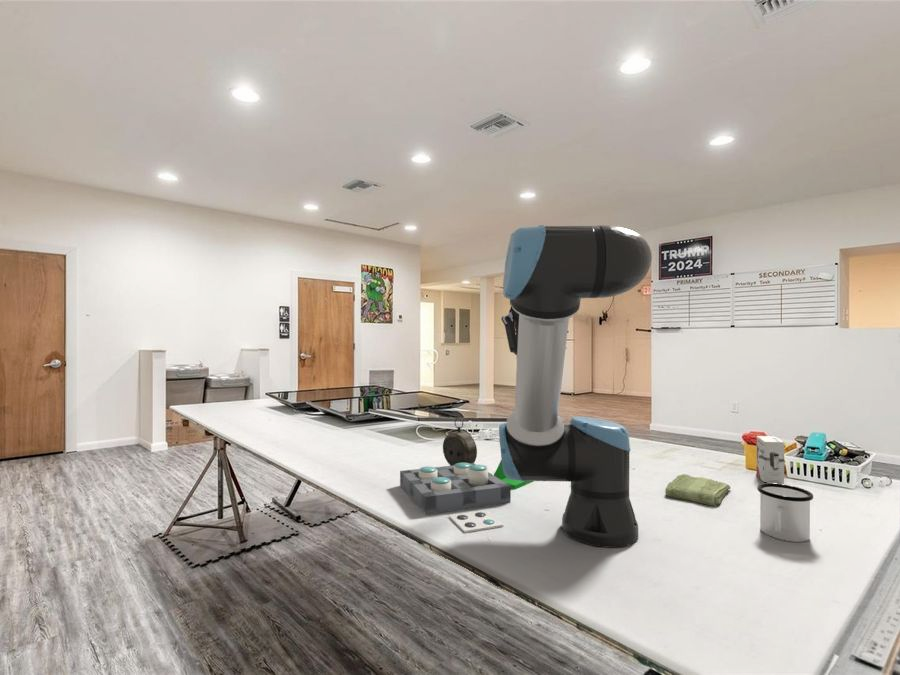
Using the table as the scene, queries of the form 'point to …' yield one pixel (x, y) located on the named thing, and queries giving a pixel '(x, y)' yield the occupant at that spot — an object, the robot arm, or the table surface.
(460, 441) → the alarm clock
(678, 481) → the washcloth
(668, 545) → the table surface
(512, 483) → the bracket
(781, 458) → the ink box
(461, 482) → the button board
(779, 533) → the white oval bin
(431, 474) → the button
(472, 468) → the button
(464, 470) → the button
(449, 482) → the button
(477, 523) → the tile
